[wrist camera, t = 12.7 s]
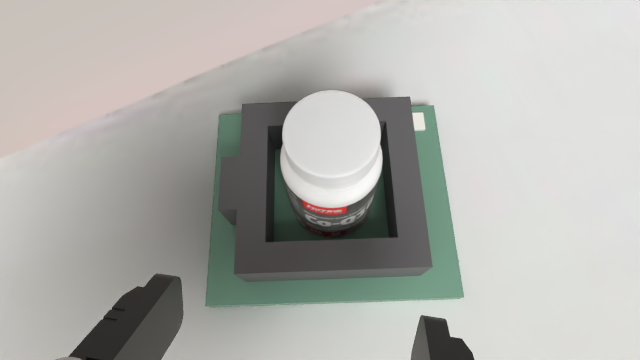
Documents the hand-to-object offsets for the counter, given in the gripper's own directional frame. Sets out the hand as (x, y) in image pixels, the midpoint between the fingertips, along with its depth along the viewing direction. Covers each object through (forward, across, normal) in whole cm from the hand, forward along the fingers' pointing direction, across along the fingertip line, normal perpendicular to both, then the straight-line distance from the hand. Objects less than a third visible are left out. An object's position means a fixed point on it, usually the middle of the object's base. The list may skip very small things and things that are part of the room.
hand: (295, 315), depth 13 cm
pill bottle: (+11, 0, +1) cm, 11 cm away
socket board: (+12, 0, +2) cm, 12 cm away
